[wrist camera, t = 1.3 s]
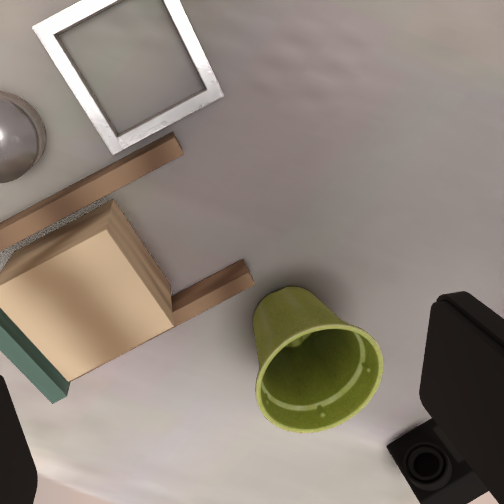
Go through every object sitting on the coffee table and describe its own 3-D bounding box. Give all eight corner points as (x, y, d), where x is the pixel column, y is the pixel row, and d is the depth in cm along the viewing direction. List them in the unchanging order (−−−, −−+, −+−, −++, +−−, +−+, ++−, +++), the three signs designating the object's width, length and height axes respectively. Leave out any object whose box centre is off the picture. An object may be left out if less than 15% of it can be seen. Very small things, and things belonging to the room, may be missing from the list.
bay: (172, 131, 31) (177, 148, 25) (249, 270, 36) (266, 308, 31) (-48, 248, 31) (-90, 289, 25) (62, 369, 36) (47, 424, 31)
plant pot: (356, 285, 39) (407, 342, 31) (309, 370, 42) (345, 442, 34) (261, 253, 36) (292, 309, 28) (217, 348, 39) (234, 422, 31)
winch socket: (158, -37, 27) (160, -55, 22) (220, 93, 30) (233, 101, 26) (-79, 90, 27) (-125, 97, 22) (11, 204, 30) (-12, 231, 26)
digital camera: (465, 388, 47) (512, 439, 41) (479, 418, 50) (526, 470, 44) (381, 439, 48) (416, 497, 42) (399, 466, 50) (434, 524, 44)
